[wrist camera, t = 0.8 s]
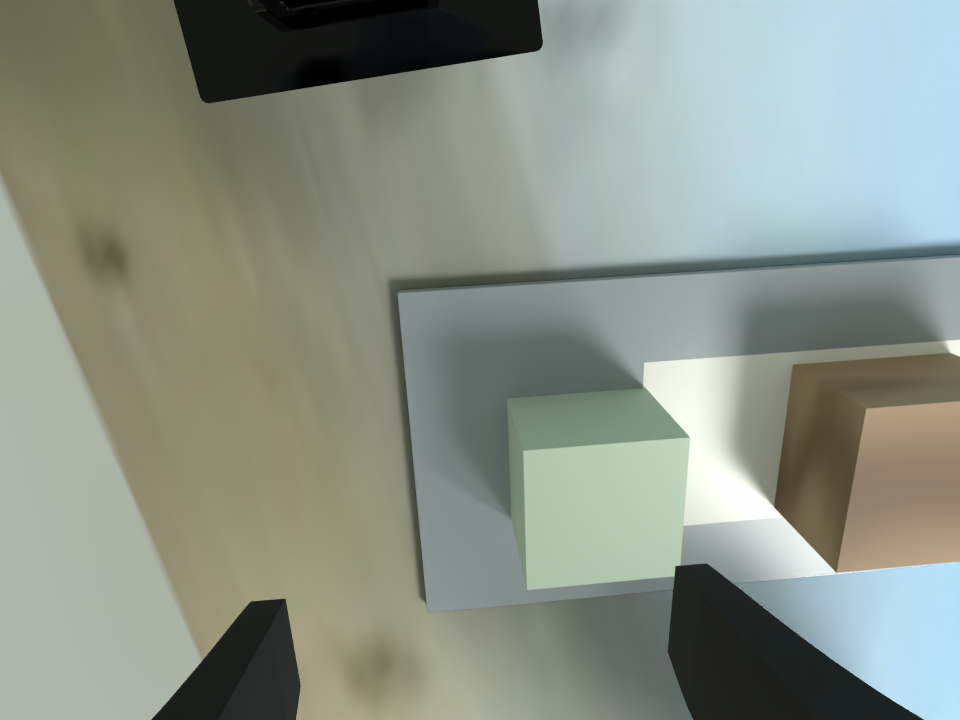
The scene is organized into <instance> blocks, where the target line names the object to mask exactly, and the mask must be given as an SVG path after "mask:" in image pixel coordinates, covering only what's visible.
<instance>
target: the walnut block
mask: <svg viewBox="0 0 960 720" xmlns="http://www.w3.org/2000/svg"><path fill="white" fill-rule="evenodd" d="M774 508H775V509H776V510H777V511H778V512H779V513H780V514H781V515H782V516H783V517H784V519H785V520H786V521H787V522H788V523H789V524H790V525H791V526H792V527H793V528H794V529H795V530H796V531H797V532H798V533H799V534H800V535H801V536H802V537H803V538H804V539H805V541H806V542H807V543H808V544H809V545H810V546H811V547H812V548H813V549H814V550H815V551H816V552H817V553H818V554H819V555H820V556H821V557H822V558H823V559H824V560H825V561H826V563H827V564H828V565H829V566H830V567H831V568H832V569H833V570H834V571H835V572H836V573H842V572H852V571H863V570H873V569H884V568H894V567H905V566H915V565H925V564H936V563H946V562H957V561H960V356H957V355H955V354H952V353H943V354H929V355H916V356H902V357H888V358H875V359H861V360H848V361H834V362H821V363H807V364H793V368H792V375H791V383H790V390H789V398H788V405H787V413H786V420H785V428H784V435H783V443H782V450H781V458H780V465H779V473H778V480H777V488H776V495H775V503H774Z"/></svg>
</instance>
